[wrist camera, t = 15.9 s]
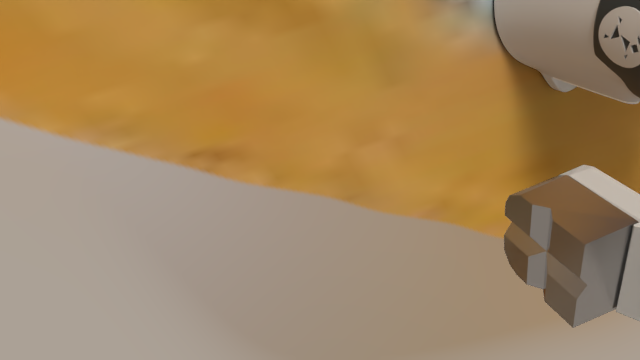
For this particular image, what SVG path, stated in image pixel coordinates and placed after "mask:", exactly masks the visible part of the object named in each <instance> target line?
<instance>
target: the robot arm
mask: <svg viewBox="0 0 640 360" xmlns="http://www.w3.org/2000/svg"><path fill="white" fill-rule="evenodd" d="M494 11H495V21H496V26H497V30H498V33H499V36H500V38H501V41H502V43H503V44H504V46H505V48H506V49H507V51H508V52H509V53H510V54H511V55H512V56H513V57H514V58H515V59H516V60H518V61H519V62H521V63H523V64H525V65H527V66H529V67H532V68H534V69H536V70H538V71H539V72H541V74H542V75H543V77H544V78H545V80H546V82H547V83H548V84H549V85H550V86H551V87H552V88H553V89H555V90H558V91H561V92H568V91H570V90H572V89H574V88H576V87H580V88H583V89H586V90H588V91H591V92H594V93H597V94H600V95H603V96H606V97H609V98H612V99H615V100H618V101H621V102H624V103H627V104H637V103H639V102H640V0H494ZM505 216H507V217H508V218H509V219H510V220H511V221H512V223H511V224H510V226H509V228H508V229H507V231H506V233H505V235H504V250H505V253H506V256H507V258H508V261H509V264H510V265H511V267H512V268H513V270H514V271H515V273H516V274H517V275H518V276H519V277H520V278H521V279H522V280H523V281H524V282H525V283H526V284H528V285H531V286H534V287H537V288H541V289H543V292H544V300H545V302H546V303H547V304H548V305H549V306H550V307H551V308H552V309H553V310H554V311H556V312H557V313H558V314H559V315H560V316H561V317H562V318H563V319H564V320H565V321H566V322H567V323H569V325H571V326H572V327H573V328H574V327H576V326H578V325H580V324H583V323H585V322H587V321H590V320H592V319H594V318H596V317H598V316H601V315H603V314H605V313H608V312H610V311H612V310H614V309H616V312H618V313H621V314H623V315H625V316H628V317H630V318H633V319H635V320H638V321H640V194H638V193H637V192H635V191H633V190H632V189H630V188H628V187H627V186H625V185H623V184H622V183H620V182H618V181H617V180H615V179H613V178H612V177H610V176H608V175H607V174H605V173H603V172H602V171H600V170H598V169H597V168H595V167H593V166H588V165H582V166H580V167H577V168H575V169H572V170H570V171H567V172H565V173H563V174H560V175H559V176H557V177H553V178H551V179H548V180H546V181H544V182H541V183H539V184H536V185H534V186H531V187H529V188H527V189H524V190H522V191H519V192H517V193H514V194H512V195H510V196H509V198H508V200H507V201H506V205H505Z"/></svg>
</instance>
